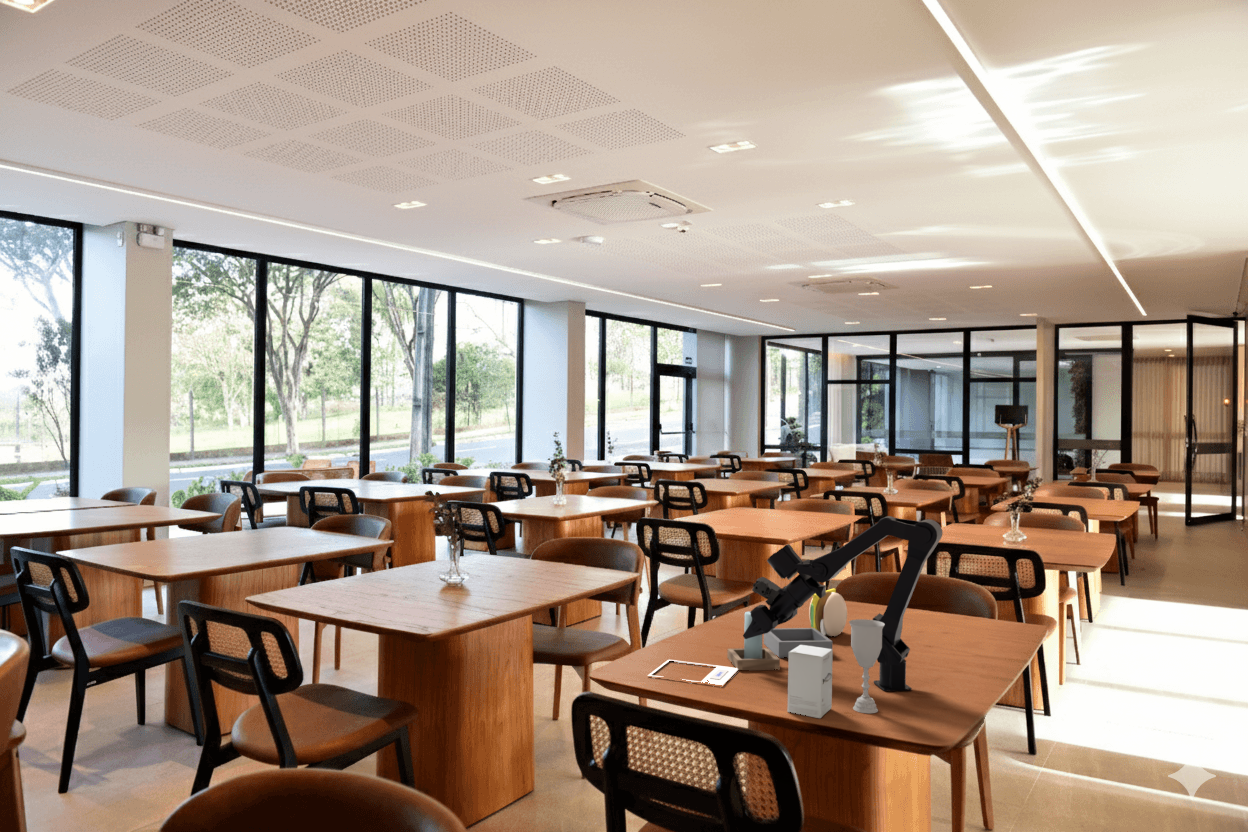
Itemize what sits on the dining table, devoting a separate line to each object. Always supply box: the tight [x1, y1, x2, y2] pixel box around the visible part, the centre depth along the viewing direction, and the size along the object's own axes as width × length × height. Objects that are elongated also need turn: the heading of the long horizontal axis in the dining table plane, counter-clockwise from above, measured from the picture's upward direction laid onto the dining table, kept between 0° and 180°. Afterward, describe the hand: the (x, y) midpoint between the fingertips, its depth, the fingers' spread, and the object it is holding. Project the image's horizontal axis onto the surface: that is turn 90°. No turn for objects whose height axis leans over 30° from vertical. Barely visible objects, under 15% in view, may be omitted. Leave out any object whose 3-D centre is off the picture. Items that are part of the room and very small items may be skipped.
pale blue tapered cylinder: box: [743, 610, 763, 659], centre depth 213 cm, size 4×4×12 cm
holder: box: [726, 647, 781, 671], centre depth 213 cm, size 10×10×2 cm
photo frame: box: [647, 659, 739, 686], centre depth 204 cm, size 15×1×18 cm
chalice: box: [848, 618, 885, 714], centre depth 181 cm, size 7×7×18 cm
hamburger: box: [808, 587, 848, 637], centre depth 243 cm, size 12×8×12 cm
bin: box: [763, 627, 833, 659], centre depth 226 cm, size 14×14×4 cm
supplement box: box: [786, 645, 833, 719], centre depth 179 cm, size 7×7×13 cm
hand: (751, 633), depth 213 cm, fingers open, 9 cm apart
